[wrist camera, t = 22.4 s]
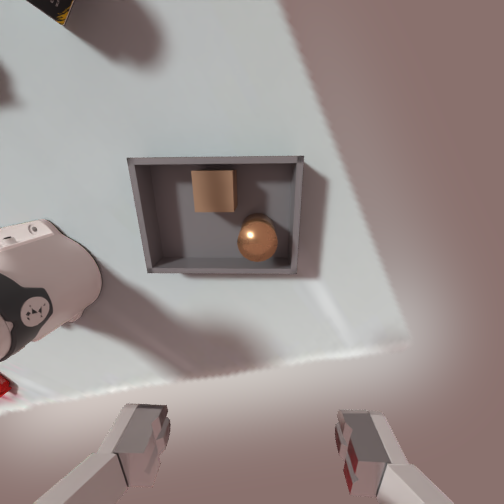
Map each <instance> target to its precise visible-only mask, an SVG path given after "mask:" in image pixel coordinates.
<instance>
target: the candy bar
mask: <svg viewBox="0 0 504 504" xmlns="http://www.w3.org/2000/svg"><path fill="white" fill-rule="evenodd" d="M10 389H11V387H9V381H8V380H7V379H5V378H4V377H3V376H1V375H0V397H1V396H3V395H4V394H5V393H6V392H8V391H9V390H10Z"/></svg>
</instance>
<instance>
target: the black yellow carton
mask: <svg viewBox="0 0 504 504" xmlns="http://www.w3.org/2000/svg"><path fill="white" fill-rule="evenodd" d="M26 1H28V2H29V3H31V4H32V5H33V6H35V7H36V8H38V9H39V10H41V11H42V12H43V13H45V14H46V15H48V16H49V17H51V18H52V19H53V20H55V21H56V22H58V23H59V24H61V25H64V24H65V22H66V20H67V17H68V15H69V12H70V10H71V7H72V5H73V2H74V0H26Z"/></svg>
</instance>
